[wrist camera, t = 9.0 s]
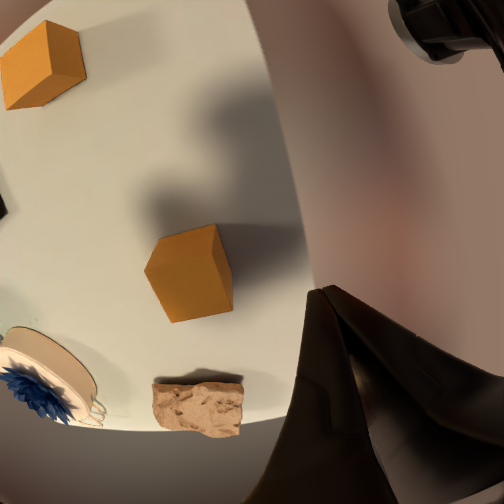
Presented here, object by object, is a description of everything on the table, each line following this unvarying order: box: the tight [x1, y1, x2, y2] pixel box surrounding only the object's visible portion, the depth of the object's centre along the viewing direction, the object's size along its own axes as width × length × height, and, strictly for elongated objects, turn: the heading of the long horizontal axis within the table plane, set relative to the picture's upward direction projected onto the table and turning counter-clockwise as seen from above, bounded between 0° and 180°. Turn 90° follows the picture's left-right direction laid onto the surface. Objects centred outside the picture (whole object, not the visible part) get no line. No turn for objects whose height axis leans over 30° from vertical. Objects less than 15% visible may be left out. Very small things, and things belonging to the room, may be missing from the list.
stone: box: [152, 382, 244, 438], centre depth 27 cm, size 9×11×5 cm
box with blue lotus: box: [0, 327, 105, 428], centre depth 25 cm, size 7×16×20 cm
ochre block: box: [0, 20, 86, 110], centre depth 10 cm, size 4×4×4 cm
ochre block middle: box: [144, 224, 233, 323], centre depth 19 cm, size 4×4×4 cm
